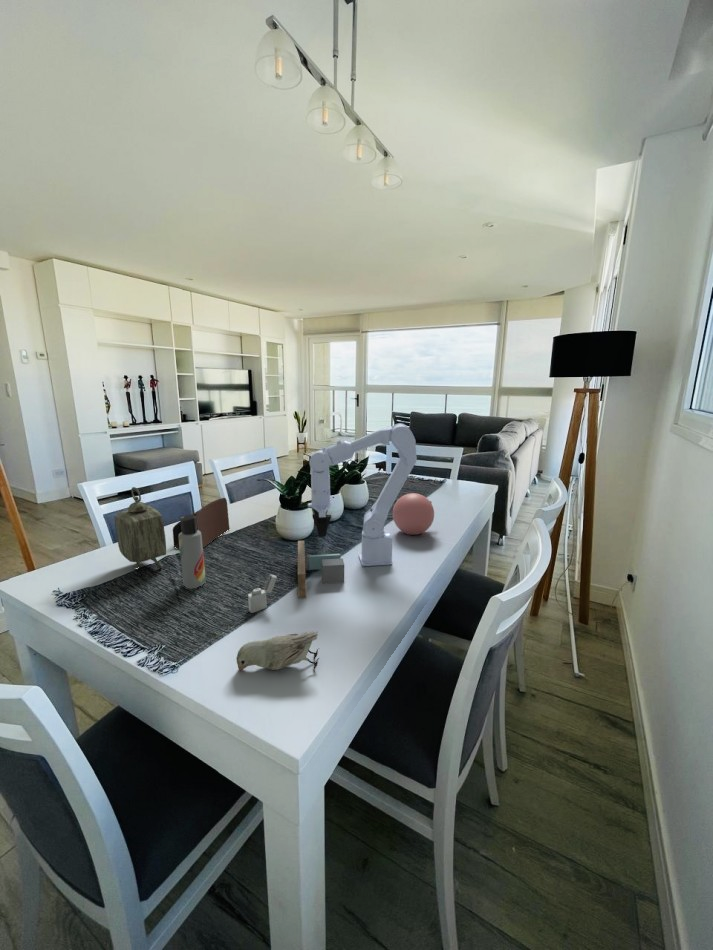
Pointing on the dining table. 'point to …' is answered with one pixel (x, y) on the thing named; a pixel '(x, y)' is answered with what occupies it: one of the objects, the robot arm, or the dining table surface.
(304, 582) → the wooden plank
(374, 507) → the robot arm
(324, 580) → the block
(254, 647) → the decorative bird
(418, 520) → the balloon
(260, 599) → the lighter
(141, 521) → the tabletop clock
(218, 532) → the letter holder
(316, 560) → the door
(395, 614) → the dining table surface
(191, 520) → the lotion bottle
